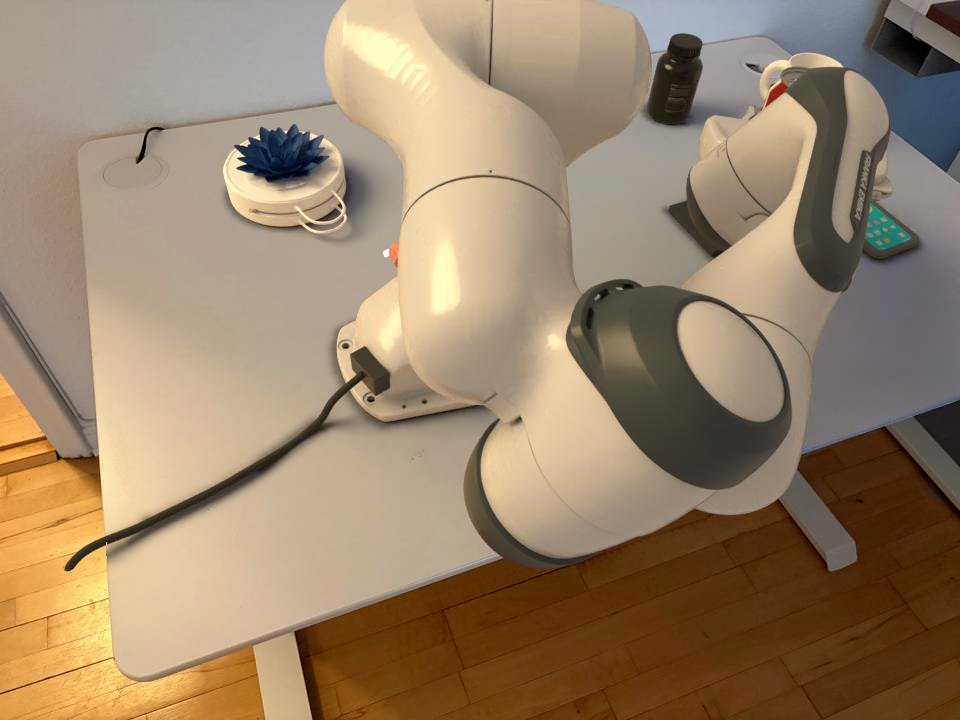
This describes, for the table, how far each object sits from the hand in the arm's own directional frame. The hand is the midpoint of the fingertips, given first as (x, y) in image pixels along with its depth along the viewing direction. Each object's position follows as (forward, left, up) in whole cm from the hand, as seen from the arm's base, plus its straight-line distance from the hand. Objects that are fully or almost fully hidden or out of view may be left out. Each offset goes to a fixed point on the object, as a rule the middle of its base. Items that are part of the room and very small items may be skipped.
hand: (786, 116), depth 86 cm
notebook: (-2, +1, -16) cm, 17 cm away
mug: (+22, +17, -17) cm, 32 cm away
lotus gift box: (-54, +28, -17) cm, 63 cm away
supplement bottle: (+6, +26, -17) cm, 31 cm away
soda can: (-1, -1, -7) cm, 7 cm away
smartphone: (+16, -6, -16) cm, 24 cm away
